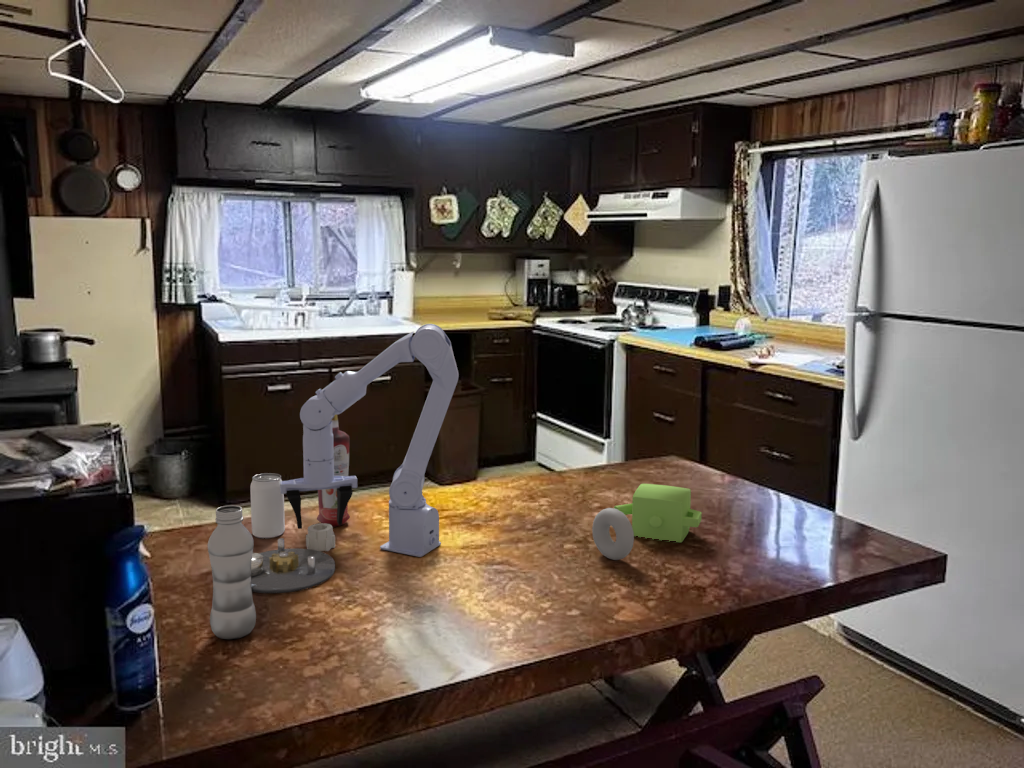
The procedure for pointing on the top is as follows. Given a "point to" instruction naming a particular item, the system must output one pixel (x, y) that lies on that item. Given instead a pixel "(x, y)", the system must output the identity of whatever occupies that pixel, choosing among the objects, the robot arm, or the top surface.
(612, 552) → the donut
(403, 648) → the top surface
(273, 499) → the can
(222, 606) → the plastic bottle
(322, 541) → the planet gear
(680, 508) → the gearbox
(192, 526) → the top surface
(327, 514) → the liquor
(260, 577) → the carrier
